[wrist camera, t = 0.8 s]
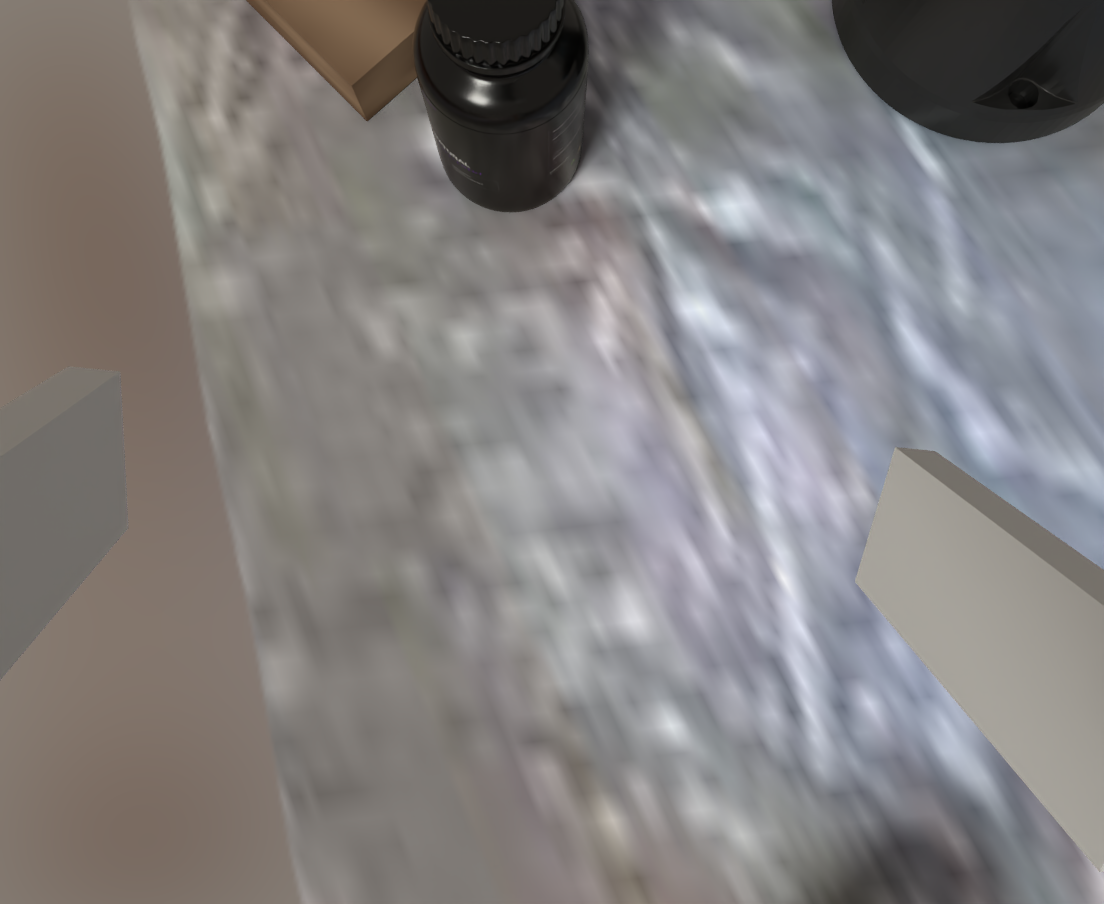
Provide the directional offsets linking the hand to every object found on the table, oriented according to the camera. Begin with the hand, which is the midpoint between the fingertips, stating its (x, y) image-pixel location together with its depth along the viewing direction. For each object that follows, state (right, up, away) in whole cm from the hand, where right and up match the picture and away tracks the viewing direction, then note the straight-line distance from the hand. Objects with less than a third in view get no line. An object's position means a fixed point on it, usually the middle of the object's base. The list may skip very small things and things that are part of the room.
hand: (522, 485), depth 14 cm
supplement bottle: (-1, +15, +26) cm, 30 cm away
